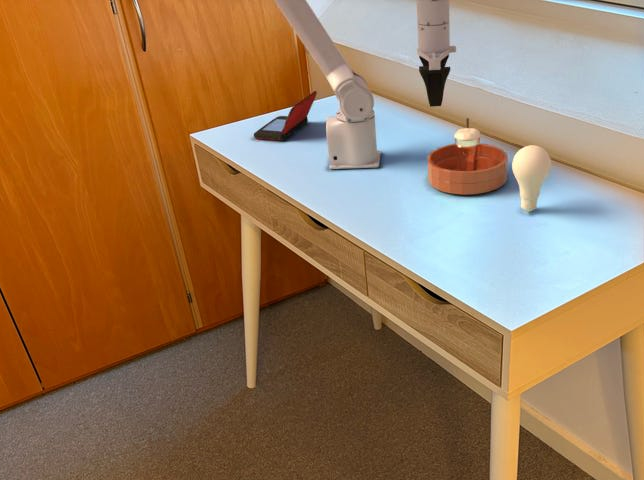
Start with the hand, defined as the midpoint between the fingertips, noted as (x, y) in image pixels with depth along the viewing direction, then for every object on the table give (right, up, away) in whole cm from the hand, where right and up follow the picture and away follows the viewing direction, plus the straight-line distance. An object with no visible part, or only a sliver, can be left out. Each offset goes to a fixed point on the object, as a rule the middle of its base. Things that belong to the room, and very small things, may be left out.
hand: (435, 99), depth 137 cm
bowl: (+6, -17, -6) cm, 19 cm away
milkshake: (+6, -17, -6) cm, 18 cm away
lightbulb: (+15, -25, -17) cm, 33 cm away
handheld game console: (-31, 0, +21) cm, 37 cm away
